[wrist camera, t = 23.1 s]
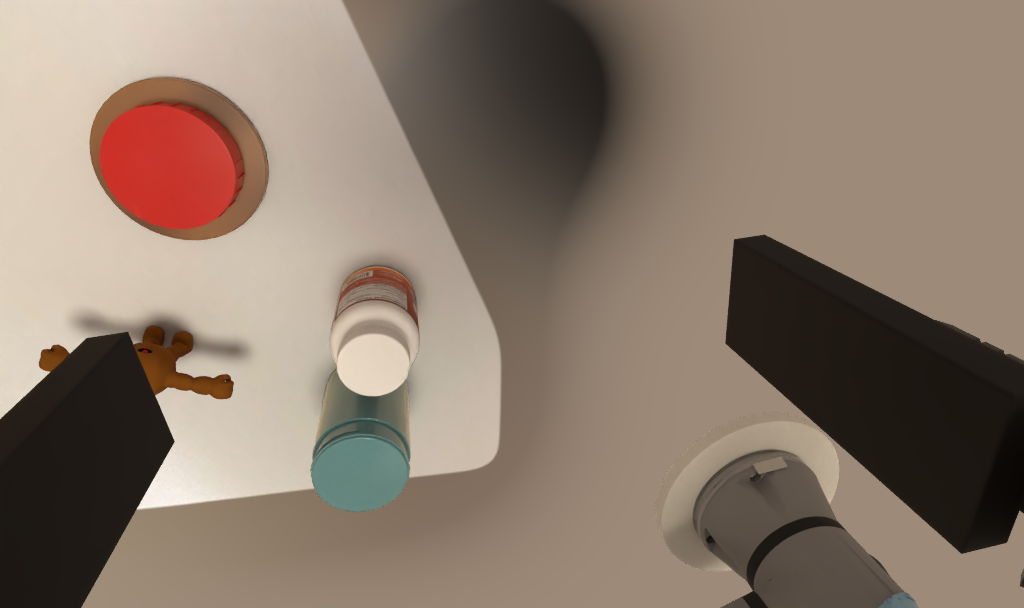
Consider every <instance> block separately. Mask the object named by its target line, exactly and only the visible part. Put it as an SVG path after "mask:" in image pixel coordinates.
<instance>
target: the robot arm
mask: <svg viewBox="0 0 1024 608" xmlns="http://www.w3.org/2000/svg"><path fill="white" fill-rule="evenodd" d="M726 344H727V345H728V346H729V347H730V348H731V349H732V350H733V351H735V352H736V353H737V354H738V355H739V356H740V357H741V358H742V359H744V360H745V361H746V362H747V363H748V364H749V365H750V366H751V367H753V368H754V369H755V370H756V371H757V372H758V373H759V374H760V375H762V376H763V377H764V378H765V379H766V380H767V381H768V382H769V383H771V384H772V385H773V386H774V387H775V388H776V389H777V390H778V391H780V392H781V393H782V394H783V395H784V396H785V397H786V398H787V399H789V400H790V401H791V402H792V403H793V404H794V405H795V406H796V407H797V408H799V409H800V410H801V411H802V412H803V413H804V414H805V415H806V416H808V417H809V418H810V419H811V420H812V421H813V422H814V423H815V424H817V425H818V426H819V427H820V428H821V429H822V430H823V431H824V432H826V433H827V434H828V435H829V436H830V437H831V438H832V439H833V440H835V441H836V442H837V443H838V444H839V445H840V446H841V447H842V448H843V449H845V450H846V451H847V452H848V453H849V454H850V455H851V456H853V457H854V458H855V459H856V460H857V461H858V462H859V463H860V464H862V465H863V466H864V467H865V468H866V469H867V470H868V471H869V472H870V473H872V474H873V475H874V476H875V477H876V478H877V479H878V480H879V481H881V482H882V483H883V484H884V485H885V486H886V487H887V488H889V489H890V490H891V491H892V492H893V493H894V494H895V495H896V496H897V497H899V498H900V499H901V500H902V501H903V502H904V503H906V504H907V506H909V507H910V508H911V509H912V510H913V511H914V512H915V513H916V514H918V515H919V516H920V517H921V518H922V519H923V520H924V521H925V522H927V523H928V524H929V525H930V526H931V527H932V528H933V529H934V530H936V531H937V532H938V533H939V534H940V535H942V537H944V538H945V539H946V540H947V541H948V542H949V543H950V544H952V546H954V547H955V548H956V549H957V550H958V551H959V552H960V553H961V554H963V553H967V552H971V551H975V550H979V549H983V548H987V547H991V546H995V545H1000V544H1004V543H1006V542H1007V541H1008V538H1009V536H1010V533H1011V530H1012V528H1013V525H1014V523H1015V520H1016V518H1017V515H1018V513H1019V510H1020V511H1021V512H1023V513H1024V361H1023V360H1021V359H1019V358H1017V357H1015V356H1013V355H1011V354H1006V355H1005V354H1004V351H1003V350H1001V349H999V348H997V347H995V346H993V345H991V344H989V343H987V342H983V343H981V341H980V339H979V338H977V337H975V336H973V335H971V334H969V333H966V332H965V331H963V330H961V329H959V328H957V327H955V326H953V325H950V324H946V323H943V322H940V321H937V320H933V319H931V318H929V317H927V316H925V315H923V314H921V313H919V312H917V311H915V310H913V309H911V308H909V307H907V306H905V305H903V304H901V303H900V302H897V301H895V300H893V299H892V298H889V297H888V296H886V295H883V294H882V293H879V292H878V291H876V290H874V289H872V288H870V287H868V286H865V285H864V284H862V283H860V282H858V281H855V280H854V279H852V278H850V277H848V276H846V275H843V274H842V273H840V272H838V271H836V270H834V269H832V268H830V267H828V266H825V265H824V264H822V263H820V262H818V261H816V260H814V259H812V258H810V257H808V256H806V255H804V254H802V253H800V252H798V251H796V250H794V249H792V248H790V247H788V246H786V245H784V244H782V243H780V242H778V241H776V240H774V239H772V238H770V237H767V236H766V235H760V236H753V237H747V238H740V239H735V240H734V247H733V258H732V271H731V282H730V295H729V307H728V319H727V331H726ZM174 442H175V441H174V439H173V437H172V434H171V432H170V430H169V427H168V425H167V422H166V420H165V418H164V415H163V413H162V411H161V408H160V406H159V404H158V401H157V399H156V397H155V394H154V392H153V390H152V387H151V385H150V383H149V380H148V378H147V375H146V373H145V371H144V368H143V366H142V364H141V361H140V359H139V357H138V354H137V352H136V350H135V347H134V345H133V343H132V340H131V338H130V335H129V333H128V332H124V333H117V334H111V335H104V336H98V337H91V338H86V339H85V340H84V341H83V342H82V343H81V344H80V345H79V346H78V347H77V348H76V349H75V350H74V351H73V352H72V353H70V354H69V355H68V356H67V357H66V358H65V359H64V360H63V361H62V362H61V363H60V364H59V365H58V366H57V367H55V368H54V369H53V370H52V371H51V372H50V373H49V374H48V375H47V376H46V377H45V378H44V379H43V380H42V381H41V382H39V383H38V384H37V385H36V386H35V387H34V388H33V389H32V390H31V391H30V392H29V393H28V394H27V395H26V396H25V397H23V398H22V399H21V400H20V401H19V402H18V403H17V404H16V405H15V406H14V407H13V408H12V409H11V410H10V411H8V412H7V413H6V414H5V415H4V416H3V417H2V418H1V419H0V608H81V607H82V605H83V603H84V602H85V600H86V598H87V596H88V594H89V593H90V591H91V589H92V587H93V586H94V584H95V582H96V580H97V578H98V577H99V575H100V573H101V571H102V569H103V568H104V566H105V564H106V562H107V561H108V559H109V557H110V555H111V554H112V552H113V550H114V548H115V546H116V545H117V543H118V541H119V539H120V538H121V535H122V534H123V532H124V530H125V529H126V527H127V525H128V523H129V522H130V520H131V518H132V516H133V515H134V513H135V511H136V509H137V507H138V506H139V504H140V502H141V500H142V499H143V497H144V495H145V493H146V491H147V490H148V488H149V486H150V484H151V483H152V481H153V479H154V477H155V475H156V474H157V472H158V470H159V468H160V467H161V465H162V463H163V461H164V459H165V458H166V456H167V454H168V452H169V451H170V449H171V447H172V445H173V443H174ZM693 525H694V528H695V530H696V532H697V534H698V536H699V537H700V539H701V540H702V542H703V544H704V545H705V547H706V548H707V549H708V550H709V551H710V552H712V553H713V554H714V555H715V556H716V557H718V558H719V559H720V560H721V561H723V562H724V563H725V564H726V565H728V566H729V567H730V568H731V569H732V570H734V571H735V572H736V573H737V574H739V575H740V576H741V577H742V578H744V579H745V580H746V581H747V582H748V584H749V585H750V587H751V588H752V590H753V591H752V592H751V593H749V594H747V595H745V596H743V597H740V598H739V599H737V600H735V601H733V602H731V603H729V604H727V605H725V606H723V607H721V608H918V607H917V604H916V602H915V600H914V599H913V598H912V597H911V596H910V595H909V594H907V593H905V592H904V591H903V590H902V589H901V588H900V587H899V586H898V585H897V584H896V583H895V581H894V580H893V579H892V578H891V577H890V576H889V574H888V573H887V571H886V570H885V568H884V567H883V566H882V564H881V563H880V562H879V561H878V560H877V559H875V558H874V557H873V556H871V555H869V554H868V553H867V552H866V551H865V550H864V549H863V548H862V547H861V546H860V544H859V543H857V541H856V540H855V539H854V538H853V537H852V536H851V535H850V534H849V533H848V532H847V531H846V530H845V529H844V528H843V527H842V526H841V524H840V523H839V522H838V521H837V520H836V518H835V515H834V513H833V511H832V509H831V507H830V505H829V503H828V500H827V498H826V496H825V494H824V492H823V490H822V488H821V486H820V483H819V481H818V479H817V477H816V475H815V474H814V472H813V471H812V470H811V469H810V468H809V467H808V466H807V465H806V464H805V463H804V462H803V461H802V460H801V459H800V458H799V457H797V456H796V455H794V454H792V453H789V452H786V451H782V450H762V451H757V452H753V453H750V454H747V455H744V456H742V457H739V458H737V459H735V460H734V461H732V462H730V463H728V464H727V465H725V466H724V467H723V468H721V469H720V470H719V471H718V472H716V473H715V474H714V475H713V476H712V477H711V478H710V479H709V480H708V482H707V483H706V484H705V485H704V487H703V488H702V490H701V491H700V493H699V495H698V497H697V499H696V502H695V505H694V508H693ZM1020 586H1022V587H1024V569H1023V572H1022V574H1021V582H1020Z"/></svg>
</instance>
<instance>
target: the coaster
mask: <svg viewBox="0 0 1024 608" xmlns="http://www.w3.org/2000/svg"><path fill="white" fill-rule="evenodd" d="M160 101H163V102H173V103H178V102H181V104H185V105H189V106H191V107H194V108H196V107H197V108H198V109H199V110H201V111H203V112H205V113H207V114H208V115H210V116H211V117H214V119H215V120H217V121H218V122H219V123H220V124H221V125H222V126H223V127H224V128H225V129H227V131H228V132H229V134H230V135H231V136H232V138H233V139H234V141H235V143H237V147H238V149H239V151H240V154H241V157H242V158H243V160H242V161H243V168H244V173H245V175H244V176H243V183H242V187H241V188H242V190H241V191H240V192H239V194H238V196H237V198H236V199H235V200H236V201H235V202H234V203H233V204H232V205H231V206H230V207H228V208H227V209H226V211H225V212H224V213H223V214H222V215H221V216H220V217H217V218H216V219H214V220H213V221H211V222H209V223H207V224H206V225H203V226H199V227H196V228H190V229H170V228H165V227H161V226H157V225H154V224H151V223H149V222H147V221H145V220H143V219H141V218H139V217H137V216H136V215H134V214H133V213H131V212H130V211H129V210H128V209H126V208H125V207H124V206H123V205H122V204H121V203H120V202H119V201H118V200H117V199H116V198H115V196H114V195H113V194H112V192H111V191H110V189H109V187H108V186H107V184H106V182H105V179H104V177H103V174H102V171H101V167H100V159H99V157H100V145H101V141H102V138H103V135H104V133H105V132H106V130H107V128H108V127H109V126H110V124H111V123H112V122H113V121H114V120H115V119H116V118H117V117H119V116H120V115H121V114H123V113H125V112H127V111H129V110H131V109H134V108H135V107H136V106H141V105H145V104H146V105H150V104H152V103H156V102H160ZM90 154H91V160H92V164H93V167H94V171H95V174H96V176H97V178H98V180H99V182H100V184H101V186H102V187H103V189H104V191H105V192H106V194H107V195H108V196H109V198H110V199H111V200H112V201H113V203H114V204H115V205H116V206H117V207H118V208H119V209H120V210H121V211H122V212H124V213H125V214H126V215H127V216H128V217H130V218H131V219H132V220H134V221H135V222H137V223H139V224H140V225H142V226H144V227H146V228H148V229H149V230H151V231H154V232H156V233H159V234H162V235H165V236H169V237H172V238H178V239H184V240H204V239H211V238H216V237H219V236H222V235H225V234H227V233H229V232H231V231H233V230H235V229H237V228H238V227H240V226H241V225H243V224H244V223H245V222H246V221H247V220H248V219H249V218H250V217H251V216H252V215H253V213H254V212H255V211H256V210H257V208H258V207H259V205H260V203H261V201H262V199H263V197H264V194H265V191H266V187H267V183H268V162H267V157H266V152H265V149H264V146H263V143H262V141H261V139H260V137H259V135H258V133H257V131H256V129H255V128H254V126H253V125H252V123H251V122H250V120H249V119H248V118H247V117H246V116H245V114H244V113H243V112H242V111H241V110H240V109H239V108H238V107H237V106H236V105H235V104H233V103H232V102H231V101H230V100H228V99H227V98H226V97H224V96H223V95H221V94H219V93H218V92H216V91H214V90H212V89H210V88H208V87H206V86H204V85H201V84H198V83H195V82H192V81H188V80H183V79H177V78H153V79H147V80H141V81H138V82H135V83H132V84H129V85H127V86H125V87H123V88H121V89H120V90H118V91H117V92H115V93H114V94H113V95H111V96H110V97H109V98H108V99H107V100H106V101H105V102H104V104H103V105H102V107H101V108H100V110H99V111H98V113H97V115H96V117H95V119H94V122H93V125H92V129H91V135H90Z"/></svg>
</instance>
